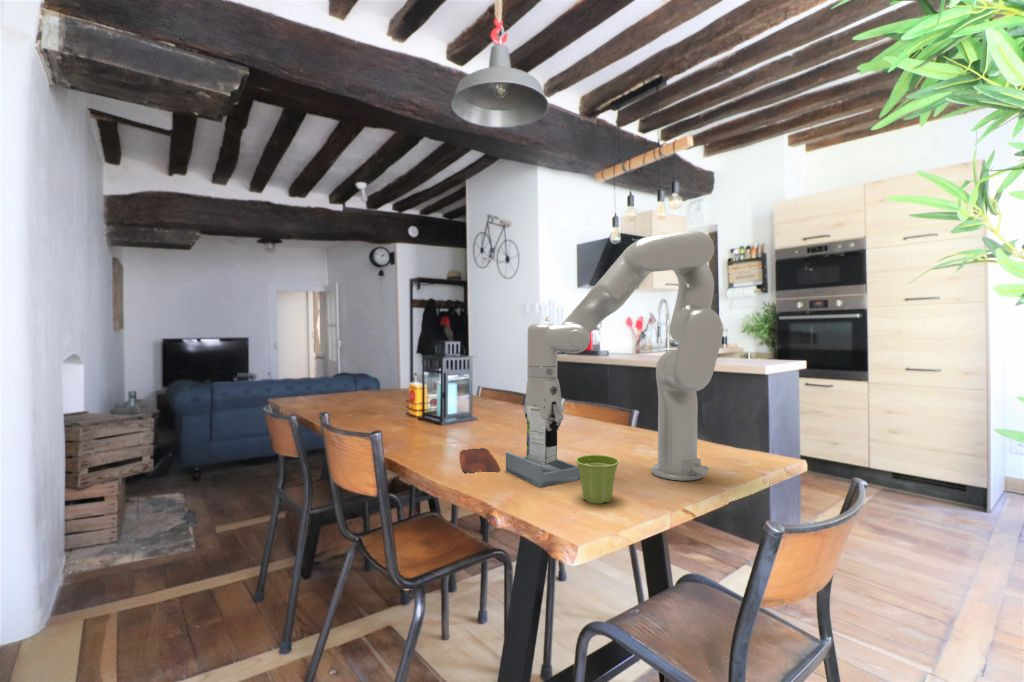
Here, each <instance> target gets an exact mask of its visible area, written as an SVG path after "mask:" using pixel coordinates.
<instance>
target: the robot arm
mask: <svg viewBox="0 0 1024 682" xmlns="http://www.w3.org/2000/svg"><path fill="white" fill-rule="evenodd" d="M714 244H715V243H714V241H713V239H712V238H711V236H710V235H708V234H707V233H706V232H703V231H699V230H694V231H693V230H692V231H691V230H690V231H684V232H678V233H677V232H676V233H675V232H674V233H668V234H660V235H652V236H645V237H642V238H640V239H637V240H636V241H634V242H633V243H631V244H630V245H629V246H627V247H626V248H625V249H624V250H623V251H622V253H621V254H620V255H619V256H618V257H617V259H615V261H614V262H613V264H612V265H610V267H609V268H608V269H607V271H606V272H605V273H604V274H603V275H602V277H601V278H600V279H598V281H597V282H596V283H595V285H594V286H593V287H592V288H591V289H590V290H589V292H588V293H587V294H586V296H584V298H583V299H582V300H581V301H580V303H579V304H578V305H577V306H576V307H575V308H574V309H573V310H572V311H571V313H570V314H569V315H568V316H567V318H565V320H564V321H563V322H562V324H552V323H551V324H550V323H534V324H530V325H529V326H528V328H527V378H526V379H527V380H526V388H525V390H526V391H525V405H524V406H523V407H522V410H523V412H524V417H525V418H526V419H525V420H527V406H529V405H534V406H538V409H539V412H540V416H541V418H542V419H544V420H546V427H547V431H545V446H546V447H553V446H557V447H558V431H559V429H560V428H559V427H560V426H561V424H562V421H563V420H564V415H563V413H562V411H563V410H562V393H561V392H562V391H561V386H560V381H559V378H558V352H560V353H565V354H566V353H567V354H579V353H583V352H584V351H585V350H586V349H587V348H588V346H589V345H590V342H591V335H590V334H591V333H592V332H593V331H594V330H595V329H596V328H597V327H598V325H599V324H600V323H602V321H604V320H605V319H606V318H607V317H609V316H610V315H612V314H613V313H615V312H617V311H618V310H620V308H621V307H623V305H624V304H625V303H626V302H627V300H629V298H630V297H631V296H632V295H633V294H634V292H635V291H636V289H638V287H639V286H640V285H641V284H642V283H643V282H644V281H645V279H646V278H647V277H648V276H649V275H650V274H651V273H655V272H665V271H673V272H674V274H675V275H676V278H677V281H678V283H677V284H678V288H677V289H678V290H677V294H676V299H675V304H674V308H673V312H672V316H671V319H670V325H669V334H670V337H671V339H672V340H674V342H676V343H678V346H677V349H671V350H668V351H666V352H665V353H663V354H662V355H661V356H660V357H659V358H658V361H657V362H656V368H655V379H656V386H657V387H656V388H657V397H658V398H657V400H658V401H657V402H658V405H657V406H658V407H657V410H658V411H657V464H654V465H652V466H651V473H652V474H653V475H654V476H656V477H659V478H662V479H666V480H671V481H681V482H682V481H696V480H700V479H702V478H703V477H705V476H707V474H708V472H709V471H710V468H709V466H705V465H702V464H701V462H702V460H701V458H699V457H698V414H699V413H698V412H699V409H698V407H699V406H698V403H699V402H698V394H697V392H699V391H701V390H703V389H704V388H705V387H706V386H707V385H708V384H709V383H710V382H711V379H712V377H713V374H714V371H715V367H716V364H717V360H718V356H719V352H720V347H721V343H722V338H723V334H724V333H723V332H724V329H723V328H724V327H723V323H722V320H721V317H720V315H719V314H718V313H717V312H716V311H715V310H714V309H712V304H713V299H714V294H715V293H714V292H715V279H714V275H713V272H712V271H711V268H710V266H709V264H708V262H710V261H711V260H712V258H713V256H714V253H715V245H714ZM549 415H550V416H552V417H551V418H549ZM550 421H552V423H551V425H550ZM526 424H527V421H526Z"/></svg>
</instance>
